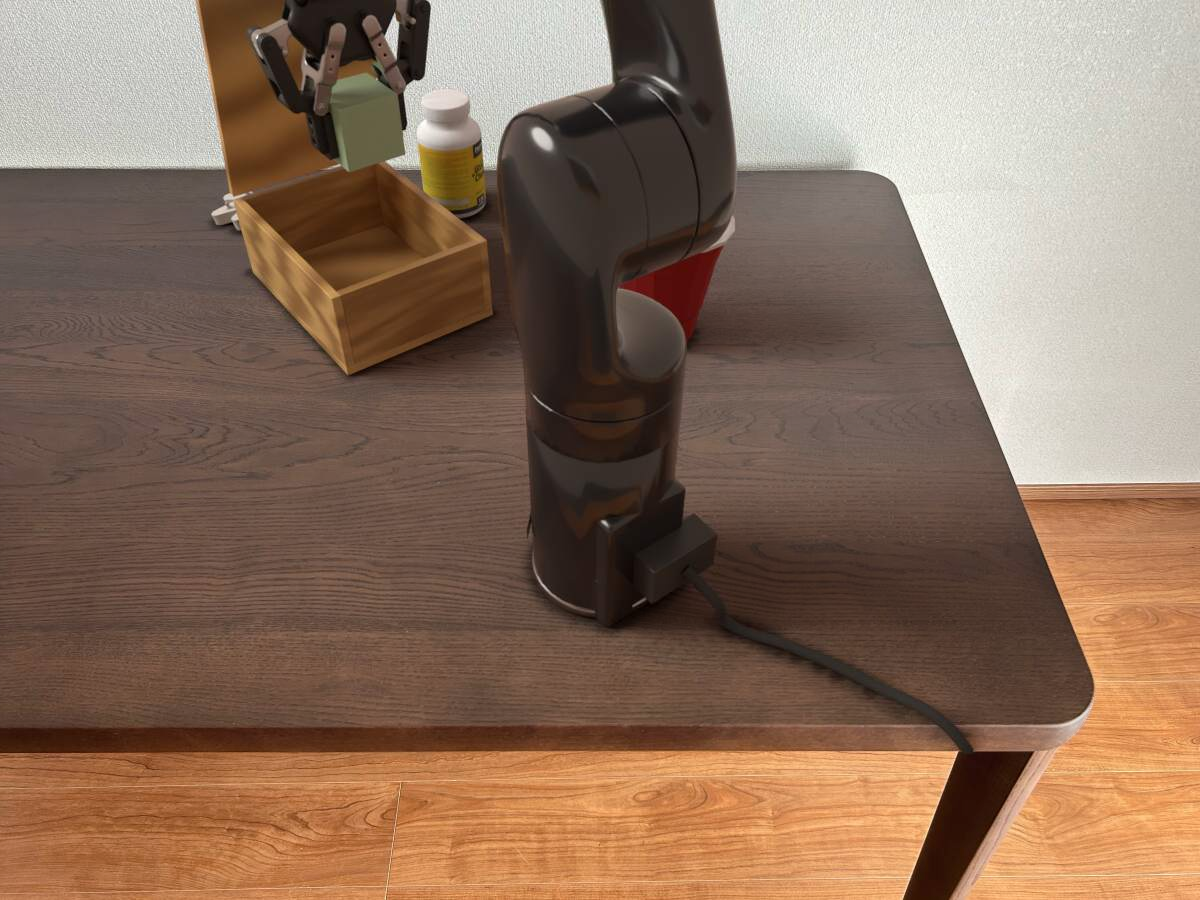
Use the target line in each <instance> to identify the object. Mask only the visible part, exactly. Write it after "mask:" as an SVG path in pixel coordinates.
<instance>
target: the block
mask: <svg viewBox="0 0 1200 900" xmlns="http://www.w3.org/2000/svg"><path fill="white" fill-rule="evenodd" d="M328 112H330V113H331V114H332V118H333V124H334V129H335V135H336V140H337V145H338V151H339V158H336V159H334V160H335V161H336V162H337V163H339V164H338V165H340V166H342V167H343V168H345V169H346V170H347V171H348V172H352V171H355V170H358V169H361V168H365V167H368V166H371V165H374V164H377V163H380V162H384V161H385V162H387V161H390V160H393V159H396V158H399V157H403V156H406V148H405V141H404V131H403V132H402V125H401V117H400V110H399V102H398V95H397V93H395V92H394V91H392V90H391V89H390V88H388V87H387V86H385V85H384V84H382V83H381V82H379V81H378V79H377V78H376V79H375V78H374V77H372V76H371V75H369V74H368V73H362V74H358V75H355V76H351V77H347V78H344V79H340V80H337V82H336V85H335V86H333V87H332V92H331V99H330V105H329V111H328Z"/></svg>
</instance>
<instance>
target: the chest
mask: <svg viewBox="0 0 1200 900" xmlns="http://www.w3.org/2000/svg"><path fill="white" fill-rule="evenodd" d="M233 201H234V205H235V208H236V212H237V216H238V219H239V223H240V227H241V230H240V231H241V234H242V237H243V240H244V241H243V242H244V244H245V248H246V251H247V252H246V253H247V255H248V259H249V263H250V266H251V270H252V273H253V275H255V276H256V278H257V279H259V281H261V283H262V284H263V285H264V286H265V287H266V289H268V291H270V292H271V294H272V295H273V296H274V297H275V298H276V299H277V300H278V301H279V302H280V304H281V305H282V306H283V307H284V308H285V309H286V310H287V311H288V313H290V314H291V315H292V317H294V318H295V319H296V321H297V322H298V323H299V324H300V325H301V326H302V328H304V329H305V330H306V331H307V333H308V334H309V335H310V336H311V337H312V338H313V339H314V340H315V341H316V342H317V344H319V346H320V347H321V348H322V349H323V350H324V351H325V352H326V353H327V354H328V355H329V356H330V358H331V359H332V360H333V362H335V363H336V364H337V365H338V366H339V367H340V368H341V369H342V371H343V372H345V374H346V375H347V376H351V375H353V374H356V373H357V372H360V371H362V370H364V369H367V368H369V367H372V366H374V365H376V364H379V363H381V362H383V361H386V360H388V359H390V358H393V357H396V356H398V355H400V354H403V353H405V352H407V351H410V350H412V349H415V348H417V347H419V346H422V345H424V344H427V343H429V342H431V341H433V340H436V339H438V338H441V337H443V336H446V335H449V334H450V333H453V332H455V331H457V330H460V329H462V328H464V327H467V326H469V325H471V324H474V323H477V322H480V321H481V320H484V319H486V318H488V317H491V316H493V315H494V313H493V302H492V289H491V276H490V275H491V274H490V264H489V263H490V261H489V251H488V250H489V249H488V240H487V239H486V238H484V237H483V236H482V235H480V233H478V232H477V231H476V230H474V229H473V228H472V227H470V226H469V225H468V224H466V222H464V221H463V220H461V218H457V217H456V216H455V215H453V214H452V213H451V212H450V211H448V210H447V209H446V208H444V207H443V206H442V205H441V204H439V203H438V202H437V201H435V200H434V199H433V198H432V197H430V196H429V195H428V194H426V193H425V192H424V190H423V189H421V188H420V187H419V186H417V185H416V184H415V183H414V182H412V181H411V180H410V179H408V178H407V176H405V175H403V174H402V173H401V172H399V171H398V170H397V169H396V168H394V167H393V166H392V165H391V164H389V163H388V162H387V161H384V162H380V163H377V164H374V165H371V166H368V167H365V168H361V169H358V170H355V171H352V172H348V171H347V170H346V169H345V168H343V167H342V166H341V165H340V166H339V165H338V166H335V167H333V168H329V169H327V170H326V169H325V170H322V171H319V172H317V173H314V174H311V175H307V176H303V177H301V178H298V179H294V180H291V181H287V182H285V183H284V182H283V183H282V184H279V185H278V184H277V185H276V186H272V187H269V188H268V187H267V188H265V189H262V190H259V191H256V192H255V191H254V192H253V193H252V194H249V195H246V196H243V197H240V198H236V199H234V200H233Z"/></svg>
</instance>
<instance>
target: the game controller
mask: <svg viewBox="0 0 1200 900" xmlns="http://www.w3.org/2000/svg"><path fill="white" fill-rule="evenodd" d="M252 193H254V191H251V192H248V193H245V194H242V195H238V196H235V197H233V196H232V194H231V193H230V192H229V193H227V194H225V195H224V196H223V197H222V199H223V200H224V205H223V206H221V207H219V208H217V209H215V210H213V211H212V212H211V216H212V218H213V220H214V223H215V224H216V226H223V225H228V224H230V223H233V225H234V227H235V229H236V231H242V230H241V227H240V223H239V219H238V216H237V212H236V208H235V205H234V201H233V200H234V199H236V198H240V197H243V196H246V195H249V194H252Z"/></svg>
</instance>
